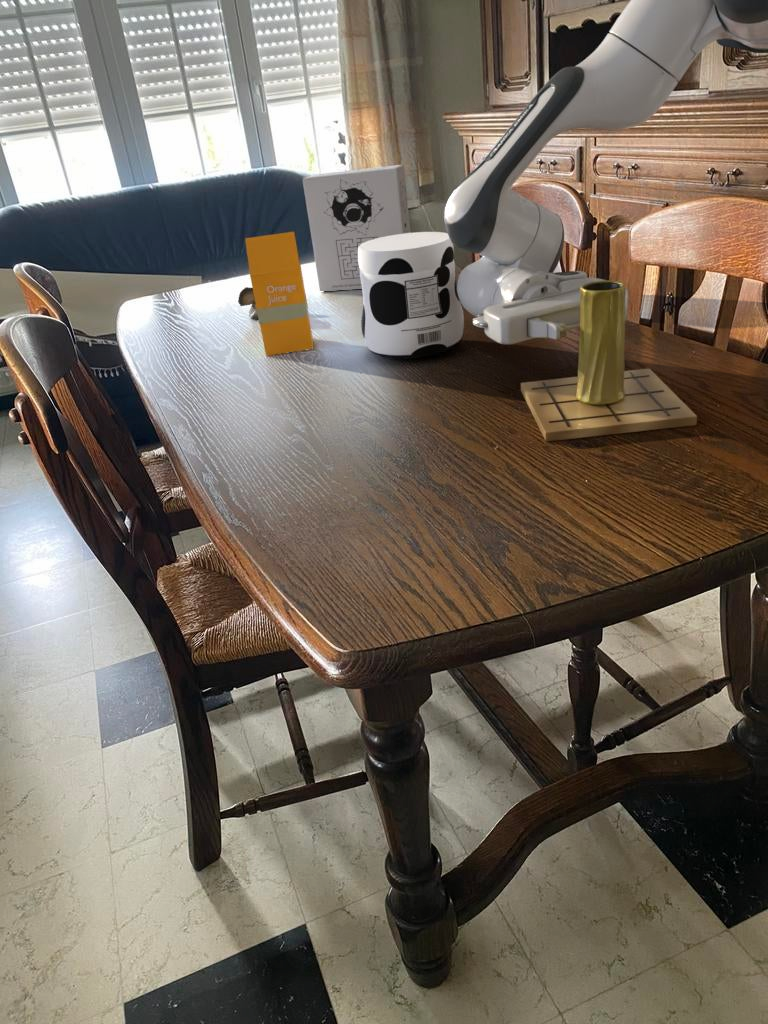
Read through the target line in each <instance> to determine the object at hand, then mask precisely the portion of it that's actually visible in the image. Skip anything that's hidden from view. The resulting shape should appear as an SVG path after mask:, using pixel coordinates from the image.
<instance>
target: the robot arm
mask: <svg viewBox="0 0 768 1024" xmlns="http://www.w3.org/2000/svg"><path fill="white" fill-rule="evenodd" d="M608 32H609V33H608ZM608 32H607V34H606V36H605V37H604V39H603V40H602V41H601V43H600V44H599V45H598V46H597V47H596V48H595V50H594V51H593V52H592V53H590V54H589V55H588V56H587V57H586V58H585V59H584V60H582V61H580V62H579V63H578V64H576V65H575V66H565V67H563V68H561V69H560V70H558V71H557V72H556V73H554V75H553V76H551V78H550V79H549V80H548V81H547V82H546V83H544V85H543V86H542V87H541V88H540V89H539V91H538V92H537V93H536V94H535V95H534V96H533V97H532V99H531V100H530V101H529V103H528V104H526V106H525V107H524V109H523V110H522V111H521V112H520V114H519V115H518V116H516V119H514V121H513V122H512V124H511V125H510V126H509V127H508V129H507V130H506V131H505V132H504V134H503V135H502V136H501V137H500V138H499V140H498V141H497V142H496V144H494V146H493V147H492V149H491V150H489V152H488V153H487V154H486V155H485V157H484V158H483V160H481V162H480V163H479V164H478V165H477V166H476V167H475V168H474V169H473V170H472V171H471V172H470V173H469V174H467V176H466V177H464V179H462V180H461V182H459V184H458V185H456V187H454V189H453V190H452V192H451V193H450V195H449V197H448V198H447V201H446V204H445V206H444V211H443V220H444V221H443V222H444V227H445V229H446V233H447V234H448V236H449V238H450V240H451V242H452V244H453V247H456V248H458V249H461V250H464V251H467V252H470V253H473V254H476V255H480V256H481V257H480V258H478V260H476V261H474V262H472V263H470V264H467V265H466V266H465V267H464V268H463V269H462V270H461V272H460V274H459V275H458V278H457V280H456V281H457V282H456V289H457V294H458V297H459V300H460V303H461V306H462V308H464V309H465V310H466V311H467V312H468V313H469V314H470V315H472V316H473V318H472V322H471V323H472V325H473V326H474V327H478V328H481V329H484V334H485V335H486V337H488V338H489V339H491V340H493V341H494V342H496V343H498V344H500V345H514V344H518V343H519V344H520V343H522V342H526V341H529V340H533V339H538V338H542V339H545V338H546V339H547V338H549V339H552V340H559V339H562V338H566V336H567V331H568V330H572V329H573V330H574V329H576V328H580V292H581V286H582V285H584V284H586V283H590V282H595V281H607V280H608V279H607V280H606V279H602V278H598V277H588V275H587V272H585V271H582V270H568V271H557V272H555V270H556V268H557V266H558V264H559V262H560V260H561V257H562V254H563V252H564V251H563V250H564V245H565V227H564V224H563V220H562V218H561V217H560V215H558V214H557V213H556V212H554V211H552V210H550V209H549V208H547V207H545V206H543V205H542V204H540V203H538V202H536V201H535V200H531V199H529V198H527V197H526V196H524V195H522V194H520V193H519V192H516V191H515V190H513V189H512V187H513V185H514V184H515V183H516V182H517V180H518V179H519V178H520V177H521V176H522V175H523V173H524V172H525V171H526V170H527V169H528V168H529V166H530V165H531V164H532V162H534V160H535V159H536V158H537V157H538V155H540V154H541V152H542V151H543V150H544V148H545V147H546V146H547V145H548V144H549V142H550V141H552V140H553V139H554V138H556V137H557V136H559V135H561V134H563V133H564V132H567V131H572V130H578V129H579V130H580V129H587V130H597V131H599V130H600V131H610V132H611V131H612V132H613V131H616V132H617V131H624V130H628V129H632V128H635V127H638V126H640V125H642V124H644V123H646V122H647V121H649V120H650V119H651V118H652V117H653V116H654V115H655V114H656V113H657V112H658V111H659V110H660V108H662V107H663V105H664V104H665V102H666V101H667V100H668V98H669V97H670V96H671V94H672V92H673V91H674V90H675V88H676V87H677V85H678V84H679V82H680V81H681V80H682V78H683V76H684V75H685V74H686V72H687V71H688V69H689V68H690V66H691V65H692V64H693V62H694V60H696V58H697V57H698V55H700V53H701V52H702V51H703V50H704V49H705V48H706V47H707V46H708V45H710V44H711V43H713V42H716V44H718V45H720V46H721V47H727V48H731V49H737V50H741V51H745V52H748V53H755V54H768V0H630V1H629V2H628V3H627V4H626V6H625V8H624V9H623V10H622V12H621V13H620V14H619V16H618V17H617V18H616V20H615V22H614V23H613V25H612V26H611V28H610V29H609V31H608ZM628 308H629V291H628V288H627V287H626V289H625V322H627V321H628V311H629V309H628Z"/></svg>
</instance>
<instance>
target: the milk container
mask: <svg viewBox="0 0 768 1024" xmlns="http://www.w3.org/2000/svg"><path fill="white" fill-rule="evenodd" d="M454 258H455V249H454V245H453V244H452V242H451V240H450V238H449V236H448V233H447V232H441V231H417V232H410V233H405V234H397V235H391V236H386V237H381V238H377V239H373V240H369V241H367V242H364V243H362V244H361V245H360V246H359V247H358V263H359V268H360V279H361V285H362V290H361V291H362V302H363V304H362V313H361V322H360V328H361V333H362V337H363V340H364V343H365V347H367V349H368V350H369V351H370V352H371V353H372V354H374V355H376V356H379V357H381V358H386V359H393V360H403V359H404V360H406V359H407V360H411V359H418V358H419V359H420V358H426V357H429V356H435V355H439V354H441V353H443V352H446V351H448V350H451V349H452V348H453V347H455V346H456V345H458V343H459V342H460V341H461V340H462V337H463V334H464V328H465V318H464V317H465V316H464V309H463V305H462V304H461V302H460V299H459V297H458V293H457V282H456V281H457V280H456V263H455V259H454Z"/></svg>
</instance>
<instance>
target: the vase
mask: <svg viewBox="0 0 768 1024" xmlns="http://www.w3.org/2000/svg"><path fill="white" fill-rule="evenodd" d="M626 288H627V287H626V283H625V282H623V281H619V280H608V279H607V281H595V282H590V283H586V284H584V285H582V286H581V292H580V327H579V343H578V344H579V345H578V361H577V362H578V366H577V377H578V380H577V393H576V398H577V399H578V400H579V401H581V402H583V403H586V404H592V405H606V404H612V403H616V402H619V401H620V400H622V399H623V398H624V397H625V392H624V371H625V348H626V347H625V345H626V344H625V343H626V321H625V289H626Z"/></svg>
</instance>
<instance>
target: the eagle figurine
mask: <svg viewBox="0 0 768 1024" xmlns="http://www.w3.org/2000/svg"><path fill="white" fill-rule="evenodd" d="M237 303H238V304H239V306H240V307H245V306H250V308H249V311H248V317H250V316H251V317H250V319H251V320H252V321H255V322H257V321H258V320H259V319H258V314H257V307H256V302H255V297H254V292H253V287H248V286H246V287H244V288H243V289H242V290H241V291H240V292H239V293H238V300H237Z"/></svg>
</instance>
